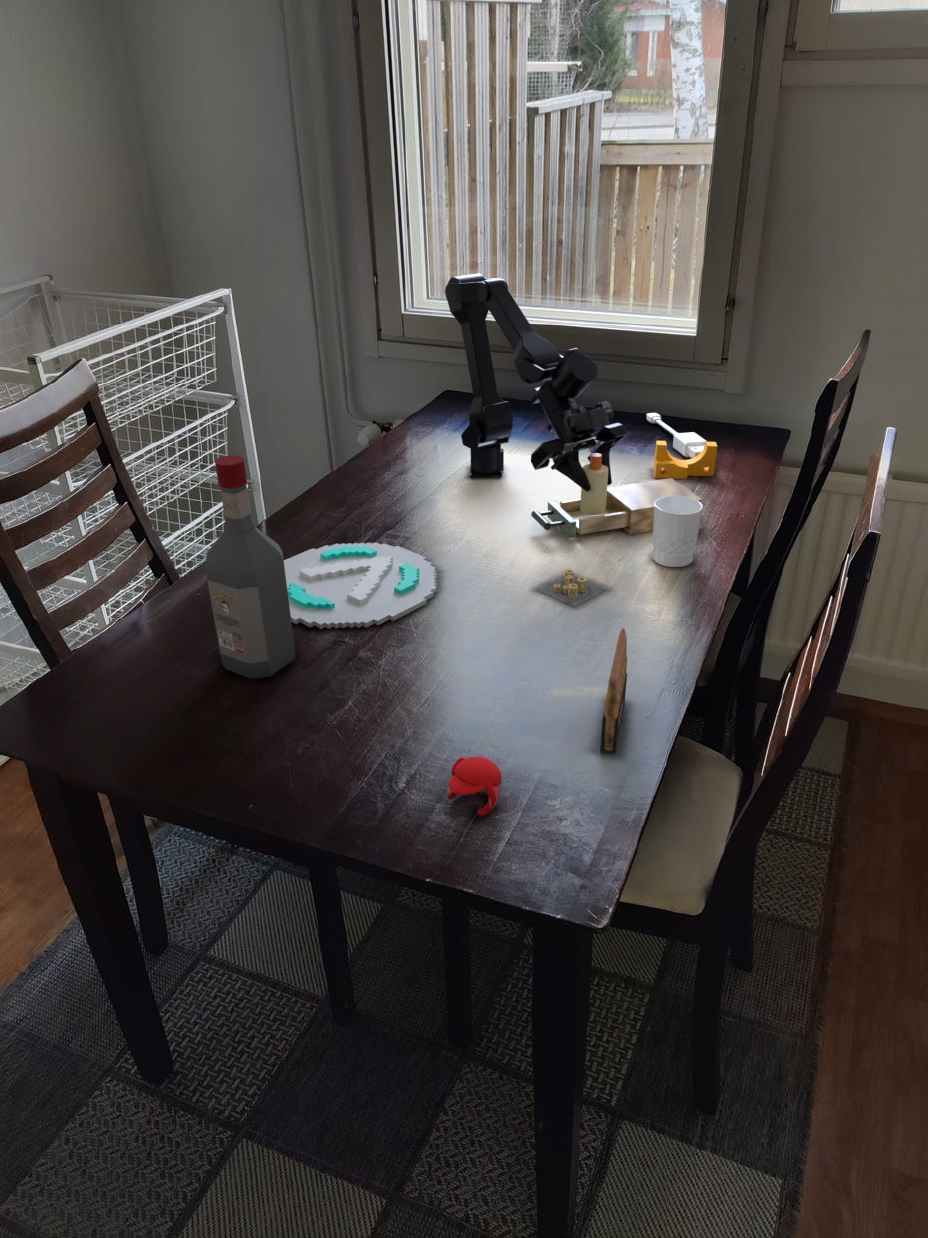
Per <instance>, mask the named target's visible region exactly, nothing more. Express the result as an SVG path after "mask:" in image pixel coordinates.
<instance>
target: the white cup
mask: <svg viewBox="0 0 928 1238" xmlns="http://www.w3.org/2000/svg"><path fill="white" fill-rule="evenodd" d="M703 509H704V504H702V503H700V502H699V501H697V500H695V499H693V498H690V497H685V496H665V497H661V498H659V499H657V500H656V501H655V502H654V518H653V530H652V560H653V561H654V562H655V563H656V564H658V565H661V566H664V567H669V568H683V567H687V566H689V565H690V564H692V563H693V561H694V554H695V548H696V546H697V541H698V538H699V532H700V526H701V520H702V515H703Z"/></svg>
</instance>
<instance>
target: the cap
mask: <svg viewBox="0 0 928 1238" xmlns="http://www.w3.org/2000/svg"><path fill="white" fill-rule="evenodd" d="M451 776H452V777H451V778H450V780H449V782H448V789H449V790H450V792H448V793H447V799H448V800H449V801H451V800H453V799H454V798H455V797H457V796H468V795H473V794H477V793H479V792H481V791H483V790H485V792H486V793H487V795H488V800H487V802H486V804H485V805H484V806H483V807H481V808H478V809H477V815H478V816H479V817H483V816H484V817H485V816H486V815H487V814H489V813H491V812H492V810H493V809H494V808H495V807H496V805H497V803H498V801H499V795H500V791H501V784H502V780H503V776H502V772H501V769H500V768H499V766H498V765H497V764H496V763H495V762H494V761H492V760H491V759H488V758H486V757H483V756H469V757H466V758H465V757H462V756H461V757H459V758H458V759H457V760H456V761H455V762H454V764H453V765H452V768H451Z"/></svg>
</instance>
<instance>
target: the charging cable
mask: <svg viewBox="0 0 928 1238" xmlns="http://www.w3.org/2000/svg"><path fill="white" fill-rule="evenodd" d="M645 415H646V420H647V421H648V422H649V423H651V424H657V425H659V426H660V427H662V428H663V429H664V430H666V431H667V432H669V434H671V435H672V436H673V441H672V448H673V449H674V450H676V451H677V452H678V453H680V454H681V455H682V456H684V457H685V458H691V459H692V458H695V457H696V456H698V455H699V454H700V453H701V452H702V451H703V449H704V447H705V444H706V442H708V441H707V440H706V439H704V438H703V437H702V436H701V435H699V434H697V433H696V432H695V431H692V432H677V431H676V430H675V429H673V428H672V427H670V426H669V425H668V424H666V423H665V422H663V421H662V416H661V415H660V414H659V413H657V412H650V413H646V414H645Z"/></svg>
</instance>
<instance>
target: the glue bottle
mask: <svg viewBox="0 0 928 1238" xmlns="http://www.w3.org/2000/svg"><path fill="white" fill-rule="evenodd" d="M590 455H591V456H590ZM590 455H589V456H590V461H589V463H588V464H585V465H583V466H582V468H583V470H584V473H585V475H586V477H587V479H588V481H589V484H590V487H591V490H590V491H588V492H586V491H585V490H584V489H582V488H581V487H580V499H581V502H580V510H581V511H582V512H583V513H586V514H590V515H598V514H602V513H604V512H605V510H606V497H607V488H608V485H607V483H608V467H607V466H605V465H602V464H601V463H602V454H600V453H592V454H591V453H590Z"/></svg>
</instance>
